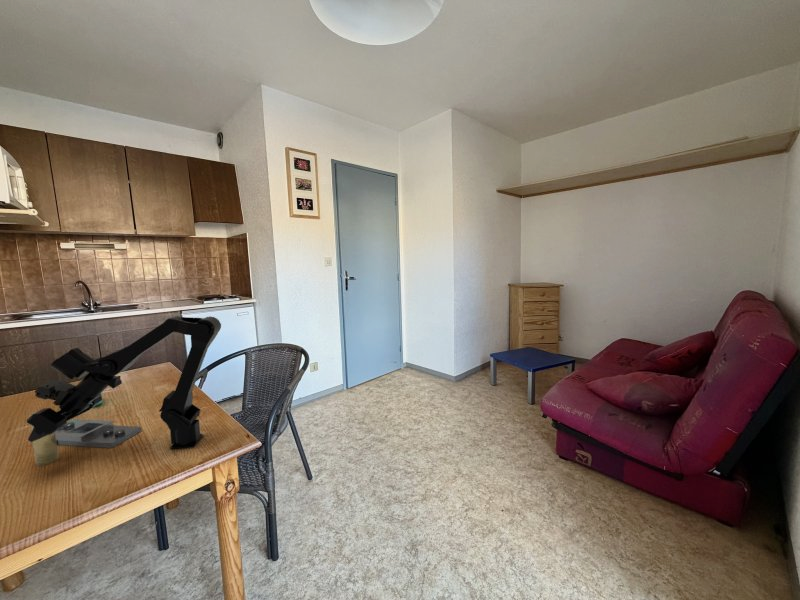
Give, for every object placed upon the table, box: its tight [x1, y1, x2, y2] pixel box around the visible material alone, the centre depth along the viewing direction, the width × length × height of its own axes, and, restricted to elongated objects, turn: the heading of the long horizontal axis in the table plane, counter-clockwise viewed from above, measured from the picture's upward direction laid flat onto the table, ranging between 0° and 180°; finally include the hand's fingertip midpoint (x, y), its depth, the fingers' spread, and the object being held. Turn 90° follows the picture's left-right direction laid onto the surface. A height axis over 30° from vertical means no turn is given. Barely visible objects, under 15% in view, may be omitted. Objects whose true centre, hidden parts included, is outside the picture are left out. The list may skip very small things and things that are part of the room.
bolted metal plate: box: [55, 418, 142, 449], centre depth 99 cm, size 24×10×4 cm, turn 84°
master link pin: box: [28, 410, 60, 467], centre depth 87 cm, size 4×4×14 cm
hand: (44, 431), depth 87 cm, fingers open, 9 cm apart
